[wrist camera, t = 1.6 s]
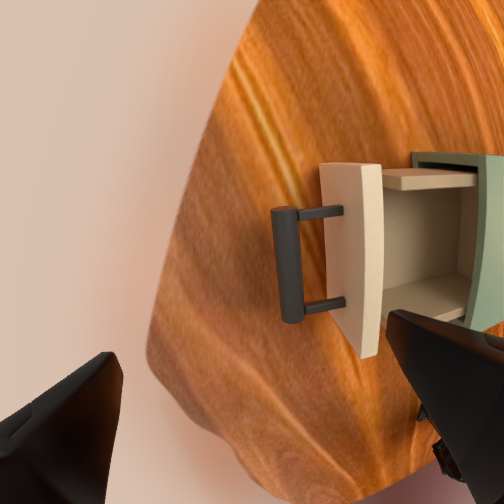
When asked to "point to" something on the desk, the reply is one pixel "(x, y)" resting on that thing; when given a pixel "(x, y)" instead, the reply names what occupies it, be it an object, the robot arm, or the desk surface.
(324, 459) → the desk surface
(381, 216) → the drawer
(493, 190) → the cabinet
